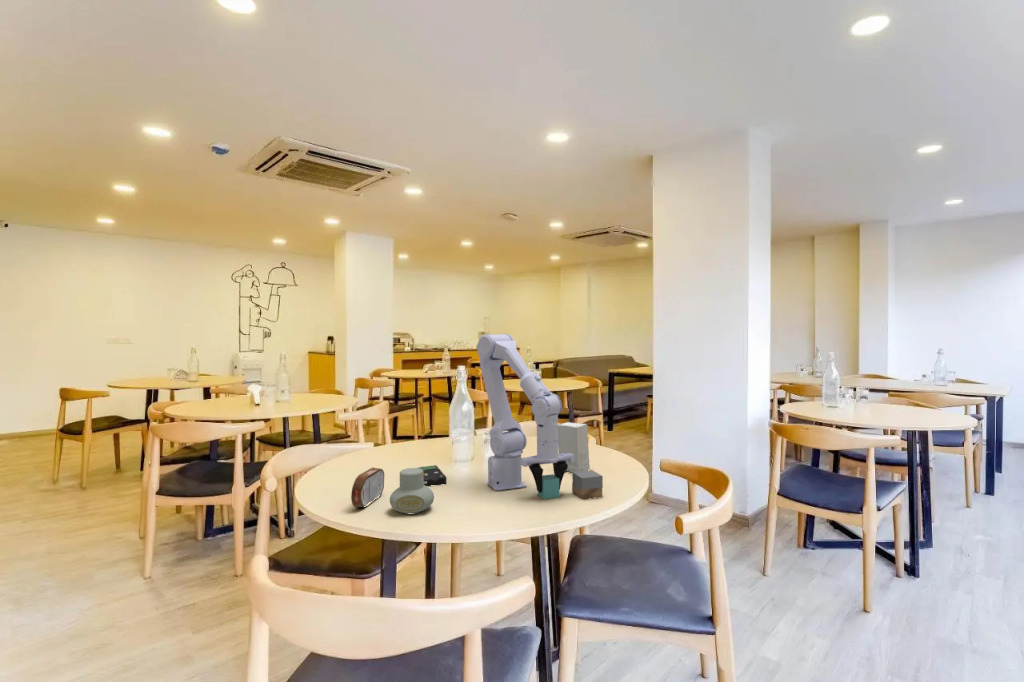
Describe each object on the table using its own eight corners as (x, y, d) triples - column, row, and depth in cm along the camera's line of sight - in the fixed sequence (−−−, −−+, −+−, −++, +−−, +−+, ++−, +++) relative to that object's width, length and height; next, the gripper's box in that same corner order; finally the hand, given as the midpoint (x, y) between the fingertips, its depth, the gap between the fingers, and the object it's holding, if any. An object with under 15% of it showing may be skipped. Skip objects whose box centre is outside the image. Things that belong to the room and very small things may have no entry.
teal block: (543, 499, 134) (543, 480, 133) (537, 494, 138) (537, 475, 138) (559, 497, 135) (559, 478, 135) (553, 492, 139) (552, 474, 139)
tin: (376, 493, 141) (375, 463, 141) (386, 494, 141) (386, 463, 141) (350, 512, 127) (349, 478, 126) (362, 513, 126) (361, 479, 126)
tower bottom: (582, 501, 133) (581, 489, 133) (572, 494, 139) (572, 483, 138) (602, 498, 135) (602, 487, 135) (591, 491, 140) (591, 480, 140)
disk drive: (447, 486, 149) (436, 473, 163) (447, 476, 149) (436, 464, 163) (412, 490, 145) (403, 476, 159) (411, 481, 145) (403, 467, 159)
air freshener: (387, 517, 123) (386, 476, 123) (393, 505, 131) (392, 467, 131) (432, 515, 124) (431, 474, 123) (435, 503, 132) (434, 465, 132)
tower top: (582, 489, 133) (581, 478, 133) (572, 483, 138) (572, 472, 138) (602, 487, 135) (602, 476, 135) (592, 480, 140) (592, 470, 140)
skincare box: (590, 470, 161) (589, 424, 160) (578, 474, 156) (577, 426, 156) (569, 466, 167) (568, 421, 166) (557, 469, 162) (556, 423, 162)
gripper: (527, 445, 130) (527, 498, 130) (578, 440, 135) (579, 491, 135) (518, 440, 137) (519, 490, 137) (567, 435, 141) (568, 484, 141)
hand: (548, 490), depth 136 cm, fingers closed on teal block, 4 cm apart
